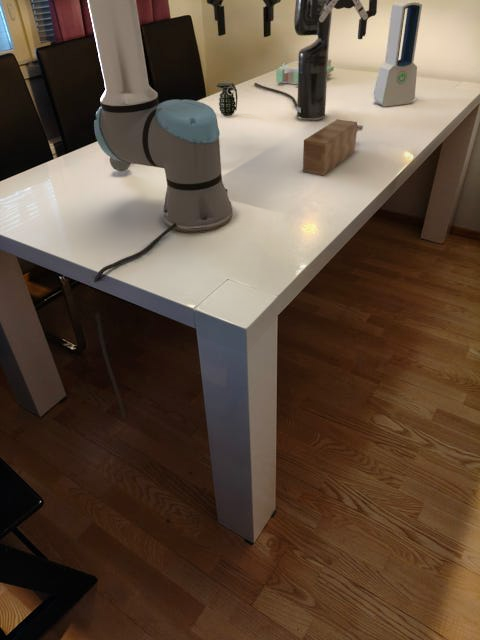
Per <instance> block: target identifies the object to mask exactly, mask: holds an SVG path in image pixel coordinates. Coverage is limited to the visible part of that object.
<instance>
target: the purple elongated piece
mask: <svg viewBox="0 0 480 640" xmlns="http://www.w3.org/2000/svg"><path fill="white" fill-rule="evenodd" d="M363 129H364V126H363V125H360V124H357V129H356V134H358V132H359V131H360V132H361V131H363ZM356 142H357V138H356V139H355V144H357V143H356Z"/></svg>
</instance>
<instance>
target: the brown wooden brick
mask: <svg viewBox="0 0 480 640" xmlns="http://www.w3.org/2000/svg"><path fill="white" fill-rule="evenodd" d="M357 125H358V121H352V120H347V119H346V120H345V119H338V118H337V119H335V120H333V121H332V122H331V123H329V124H326V126H324V127H322V128H321V129H319V130H318V131H316V132H314V133H313V134H311V135H310V136H308V137H306V138H304V139H303V152H302V153H303V154H302V155H303V156H302V172H303V173H308V174H313V175H319V176H325V175H326V174H328V173H329V172H331V170H333V169H334V168H335V167H337V166H338V165H340V163H342V162H344V160H346V159H347V158H349V156H351V155H352V154H354V153H355V151H356V150H355V148H356V143H355V139H356V140H357V133H356V129H357Z"/></svg>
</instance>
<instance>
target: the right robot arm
mask: <svg viewBox="0 0 480 640" xmlns="http://www.w3.org/2000/svg"><path fill="white" fill-rule="evenodd" d="M352 8H355V11H356V12H357V14H358V16H359V17H360V19H358V28H357V29H358V30H357V39H358V40H363V37H366V35H367V27H368V26H367V24H368V20H369V19H370V18H372V17H375V16H376V15H377V13H378V12H377V11H378V0H368V10H366V9H365V8H364V5H363V4H362V2H361V0H295V7H294V19H293V24H294V31H295V34H296V35H297V36H301V37H304V36H305V37H307V36H317V38H316V39H315V41H313V42H312V43H311V44H309V45H307V46H305V47H303V48H301V49H300V50H299V51H298V59H297V60H299V62H298V84H297V98H296V99H297V101H296V99H295V98H294V96H292V95H291V94H289V93H287V92H285V91H281V90H279V89H276V88H271V87H268V86H265V85H261V84H259V83H257V82H254V83H253V85H254V86H256V87H258V88H260V89H263V90H267V91H268V92H272V93H276V94H280V95H282V96H285V97H286V98H287V97H288V98H289V99H290V100H291V101H292V103H293V105H294V107H295V109H296V118H297V119H298V120H301V121H306V122H312V121H320V120H323V119H324V118H326V105H327V104H326V103H327V89H328V88H327V85H328V76H327V69H328V59H329V52H330V51H329V50H330V36H331V27H332V26H331V25H332V18H333V17H332V16H333V9H336V10H341V9H352Z"/></svg>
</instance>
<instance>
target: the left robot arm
mask: <svg viewBox="0 0 480 640" xmlns="http://www.w3.org/2000/svg"><path fill="white" fill-rule="evenodd" d="M262 1H263V3H264V5H265V6H263V7H262V14H263V15H262V17H263V19H262V20H263V22H262V23H263V38H268V37H270V36H272V23H271V22H274V19H275V16H274V14H275V12H274V9H275V8H274V7H275V5H276V4H279V3H281V2H282V0H262ZM223 2H224V0H206V3H207V5H208V4H209V5H211V6H212V7H213V14H214V21H215V22H217V36H219V37H222V36H225V35H226V34H227V33H226V16H225V6H224V5H223ZM87 5H88V9H89V14H90V20H91V23H92V29H93V34H94V39H95V43H96V49H97V53H98V59H99V63H100V68H101V73H102V78H103V82H104V83H103V84H104V88H105V90H104V92H103V93H102V95H101V97H100V100H99V101H100V107H99V108H98V109H97V111H96V113H95V120H94V122H93V127H94V128H93V130H94V135H95V139H96V141H97V143H98V145H99V147H100V149H101V150H102V152H104V154H105V155H106V156H108V157H109V158H110V157H111V158H113V159H115V160H119V161H122V162H124V163H128V164H132V165H140V166H147V167H154V168H160V169H164V174H165V180H166V190H165V191H166V192H165V196H164V203H163V207H162V218H163V222H164V224H165V226H167V227H168V228H166V229H165V230H164V231H163V232H162V233H161V234H160V235H158V236H157V237H156V238H154V240H152V241H151V242H150V243H149V244H148V245H146V246H145V247H144V248H143V249H141V250H140V251H138V252H136V253H134V254H132V255H129V256H126V257H123V258H121V259H119V260H117V261H115V262H113V263H110V264H109V265H108V264H107V265H105V266H103V267H102V268H101V269H99V271H98V272H97V274H96V276H95V277H94V280H93V282H94V283H97V282H99V281H100V278H101V277H102V275H103V274H104V273H105V272H106V271H108V270H111V269H113V268H115V267H117V266H120V265H122V264H124V263H127V262H129V261H131V260H134V259H136V258H138V257H140V256H142V255H144V254H145V253H146V252H148V251H149V250H150V249H151V248H153V246H154V245H156V244H157V243H158V242H159V241H160V240H161V239H163V238H164V237H165V236H166V235H167V234H168V233H170V232H171V231H172V230H173V231H177V232H180V233H190V234H191V233H192V234H193V233H194V234H195V233H196V234H197V233H205V232H206V233H207V232H210V231H215V230H216V229H220V228H222V227H224V226H226V225H227V224H228V223H230V221H231V220H232V218H233V216H234V212H233V211H234V210H233V205H232V201H231V200H230V197H229V195H228V189H227V188H226V187H225V184H224V182H223V175H222V174H223V173H222V161H221V159H222V158H221V145H220V133H221V132H220V129H219V123H218V116H217V113H216V112H215V110H214V109H213V108H212V106H210V105H208V104H206V103H204V102H202V101H199V100H193V99H169V100H165V101H162V102H160V101H159V94H158V92H157V91H156V90H155V89H153V88H152V87H151V85H150V84H149V78H148V71H147V64H146V57H145V52H144V44H143V39H142V32H141V24H140V19H139V12H138V5H137V0H87ZM95 321H96V325H97V333H98V337H99V342H100V346H101V349H102V355H103V357H104V361H105V364H106V368H107V371H108V374H109V378H110V380H111V383H112V386H113V389H114V392H115V395H116V399H117V401H118V405H119V408H120V412H121V416H122V419H123V420H125V419H126V418H127V416H126V412H125V407H124V405H123V401H122V397H121V395H120V391H119V387H118V385H117V382H116V378H115V375H114V373H113V369H112V367H111V363H110V359H109V356H108V352H107V349H106V344H105V339H104V335H103V330H102V329H103V328H102V322H101V315H100V312H95Z"/></svg>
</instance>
